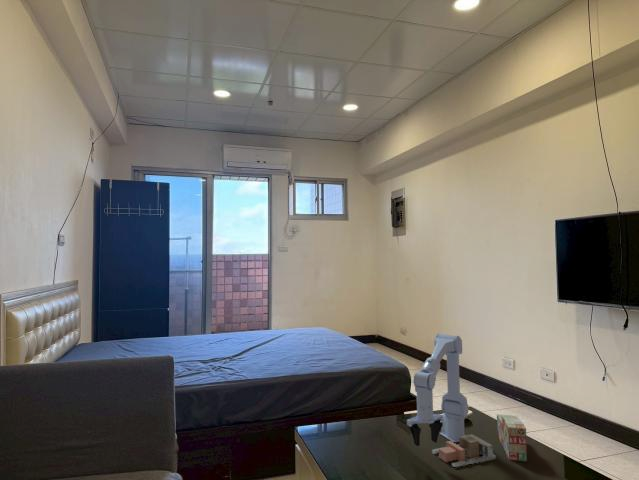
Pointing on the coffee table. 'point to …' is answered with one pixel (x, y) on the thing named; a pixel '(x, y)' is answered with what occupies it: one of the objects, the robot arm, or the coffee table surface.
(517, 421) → the stack of blocks
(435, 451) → the pale grey flat frame
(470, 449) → the block
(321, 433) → the coffee table surface
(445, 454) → the block
